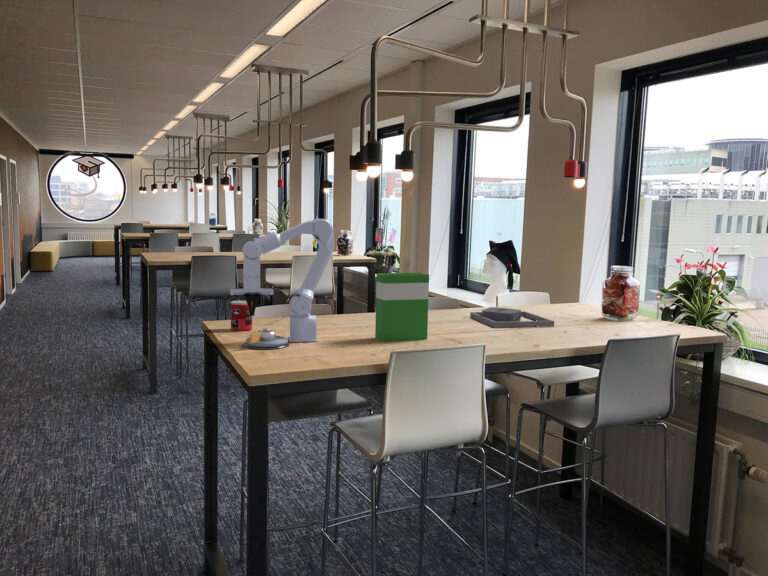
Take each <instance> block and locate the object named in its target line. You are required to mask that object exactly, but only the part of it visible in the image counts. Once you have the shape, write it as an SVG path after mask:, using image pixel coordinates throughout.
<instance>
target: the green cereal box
mask: <svg viewBox="0 0 768 576" xmlns="http://www.w3.org/2000/svg"><path fill="white" fill-rule="evenodd" d="M375 287H376V289H375V293H376V294H375V331H374V332H375V333H374V334H375V339H376V338H377V339H376V340H378V339H379V340H378V341H380V340H381V341H380V342H382V341H387V342H402V341H403V342H405V341H419V340H420V341H421V340H422V341H423V340H428V327H429V326H428V324H429V323H428V321H429V294H430V293H429V291H430V290H429V289H430V288H429V287H430V274H429V273H428V274H426V273H425V274H424V273H422V272H379V273H378V272H376V286H375Z"/></svg>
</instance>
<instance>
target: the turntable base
mask: <svg viewBox="0 0 768 576" xmlns="http://www.w3.org/2000/svg"><path fill="white" fill-rule="evenodd" d="M244 347H245V348H247V349H250V350H258V351H272V350H273V349H274V350H280V349H281V348H282V349H286V348H287V347H290V341H288V344H286V345H283V346H277V347H254V346H249V345H247V344H246V342H244ZM285 347H286V348H285Z"/></svg>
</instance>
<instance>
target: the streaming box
mask: <svg viewBox="0 0 768 576" xmlns="http://www.w3.org/2000/svg"><path fill="white" fill-rule="evenodd" d="M521 311H522V310H521V309H518V308H506V307H495V306H493V307H488V308H485V309H481V312H482V316H483V317H486V318H488V319H490V320H493V321H495V322H514V321H521V320H522V319H521V318H522V317H521Z"/></svg>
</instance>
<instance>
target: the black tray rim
mask: <svg viewBox="0 0 768 576" xmlns="http://www.w3.org/2000/svg"><path fill="white" fill-rule="evenodd" d="M521 316H525V317H524V318H526V317H528V318H531V319H534V320H537V321H534V320H531V319H530V320H524V321H523V320H522V321H514V322H495V321H493V320H490V319H488V318H486V317H483V316H482V311H470V315H469V318H470V317H471V318H470V319H473V320H475V321H477V322H480V323H482V324H483V325H484V324H485V325H487V326H489V327H491V328H493V329H508V328H509V329H511V328H512V327H519V328H535V327H534V326H554V327H555V320H554V319H548V318H546V317H544V316H541V315H537V314H534V313H531V312H528V311H522V310H521ZM528 318H527V319H528Z"/></svg>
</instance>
